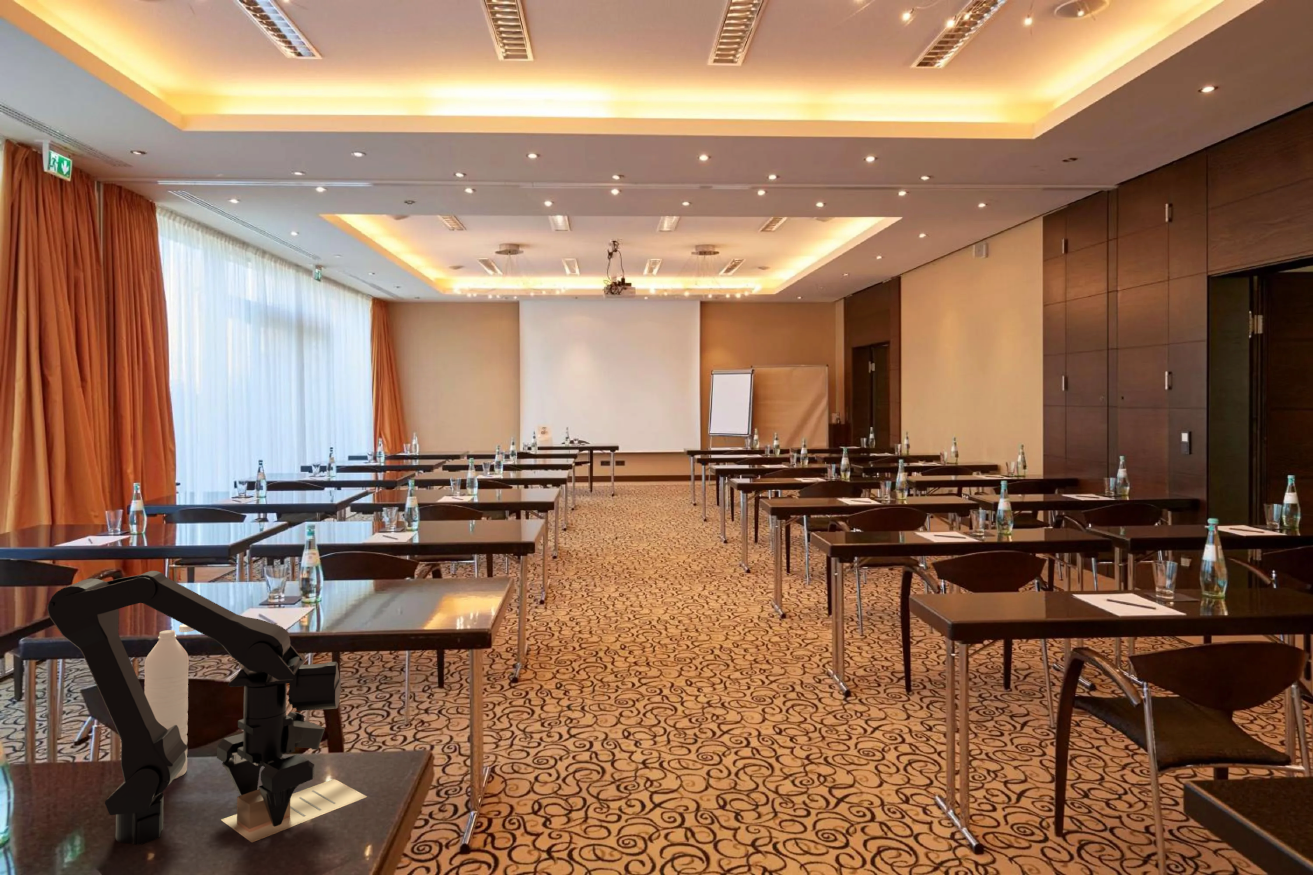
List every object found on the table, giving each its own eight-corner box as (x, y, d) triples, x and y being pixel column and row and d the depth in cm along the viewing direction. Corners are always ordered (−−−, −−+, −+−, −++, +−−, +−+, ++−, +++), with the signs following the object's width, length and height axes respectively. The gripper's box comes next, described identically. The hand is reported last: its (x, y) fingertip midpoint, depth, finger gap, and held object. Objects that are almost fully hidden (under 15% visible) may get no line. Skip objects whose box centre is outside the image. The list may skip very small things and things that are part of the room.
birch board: (220, 829, 116) (220, 819, 116) (333, 787, 130) (334, 778, 130) (251, 852, 110) (251, 841, 110) (367, 805, 124) (367, 796, 124)
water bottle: (165, 785, 130) (167, 636, 130) (133, 780, 131) (135, 633, 131) (206, 763, 138) (208, 624, 138) (175, 759, 140) (177, 622, 140)
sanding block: (236, 823, 115) (237, 796, 115) (277, 808, 119) (277, 782, 119) (249, 832, 112) (249, 804, 112) (290, 816, 117) (290, 790, 117)
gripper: (348, 712, 116) (347, 815, 116) (287, 685, 128) (286, 779, 128) (274, 733, 108) (272, 845, 108) (216, 703, 119) (214, 804, 119)
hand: (263, 816), depth 116 cm, fingers open, 8 cm apart
